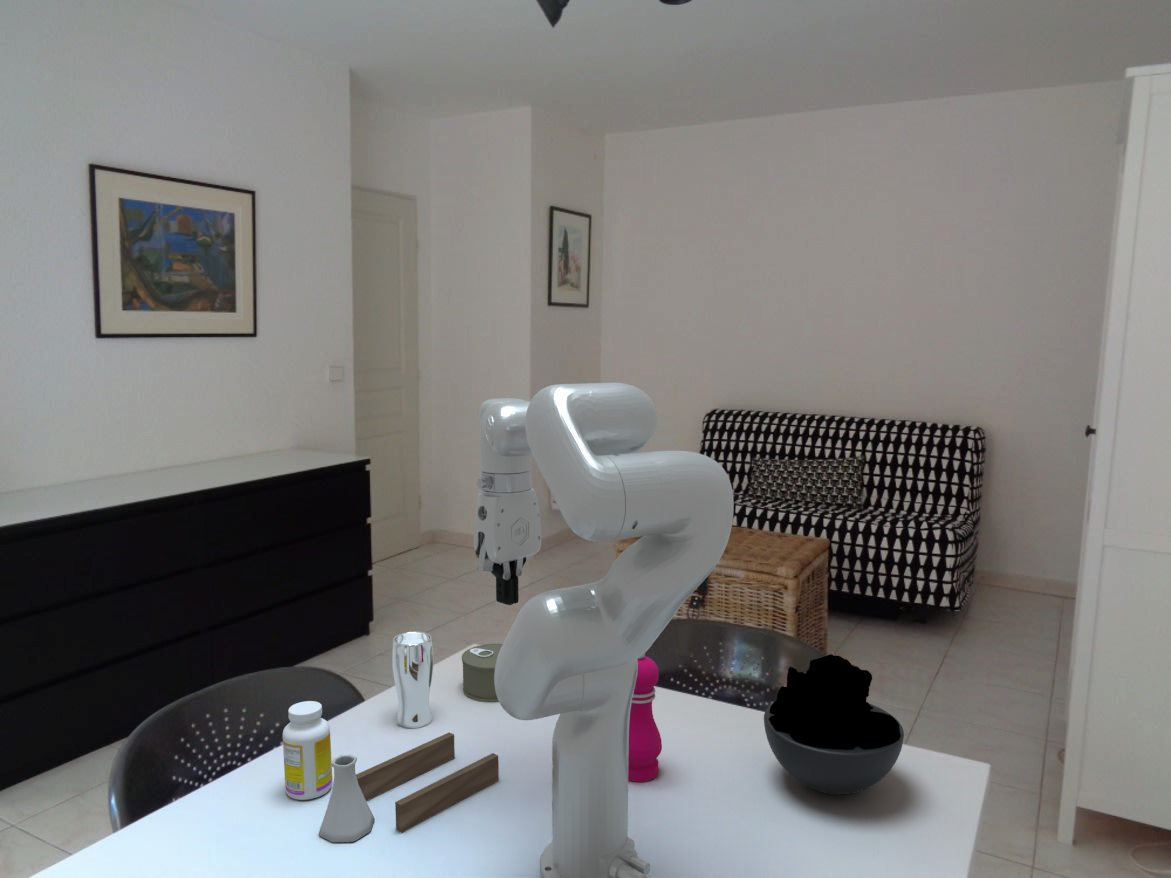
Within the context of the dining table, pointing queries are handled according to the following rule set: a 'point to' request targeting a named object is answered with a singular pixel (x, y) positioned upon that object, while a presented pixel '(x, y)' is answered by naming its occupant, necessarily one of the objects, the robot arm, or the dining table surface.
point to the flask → (346, 805)
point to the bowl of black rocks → (832, 728)
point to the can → (480, 672)
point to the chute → (435, 794)
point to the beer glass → (413, 677)
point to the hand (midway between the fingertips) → (507, 602)
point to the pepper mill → (643, 725)
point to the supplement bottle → (307, 752)
